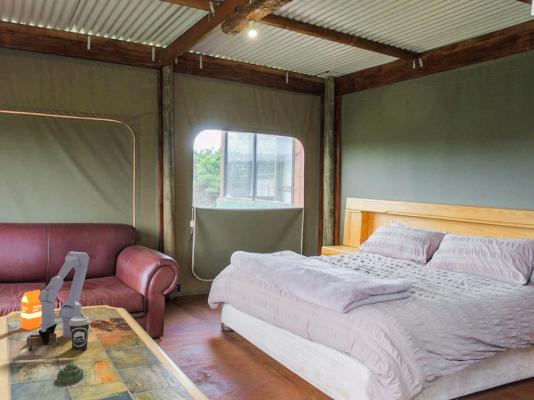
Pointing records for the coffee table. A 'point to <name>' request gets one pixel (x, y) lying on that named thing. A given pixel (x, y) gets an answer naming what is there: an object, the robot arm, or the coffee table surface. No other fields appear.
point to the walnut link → (38, 340)
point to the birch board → (36, 350)
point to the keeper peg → (30, 345)
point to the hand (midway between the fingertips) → (48, 341)
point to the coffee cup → (79, 332)
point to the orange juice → (30, 310)
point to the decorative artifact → (70, 374)
